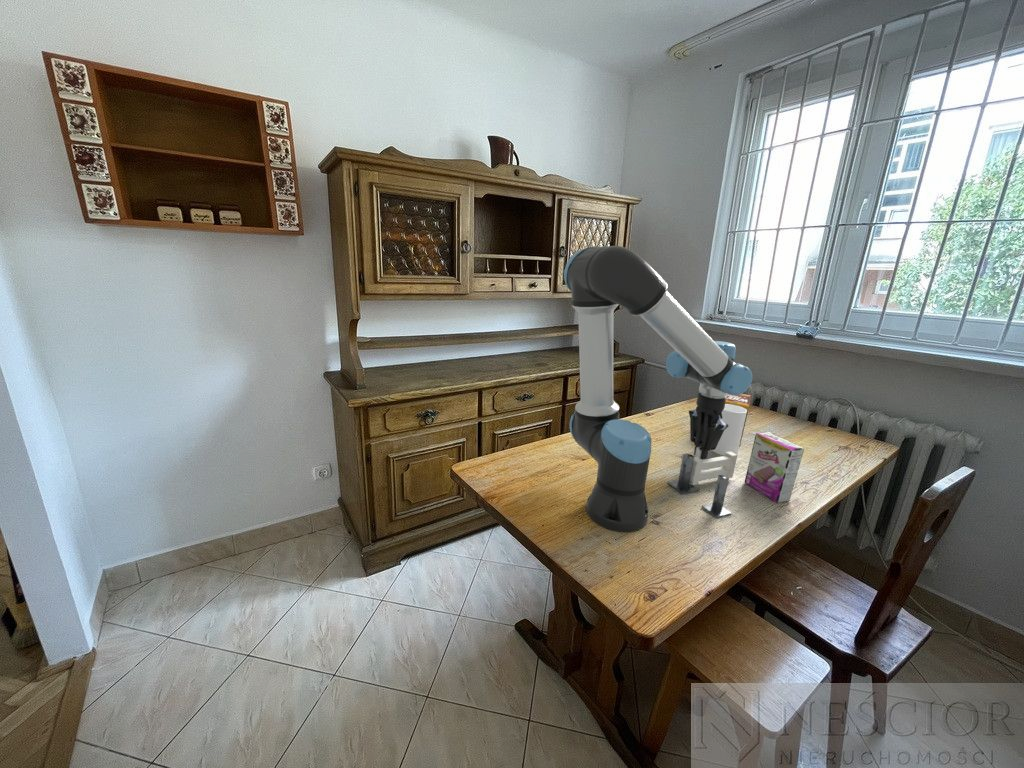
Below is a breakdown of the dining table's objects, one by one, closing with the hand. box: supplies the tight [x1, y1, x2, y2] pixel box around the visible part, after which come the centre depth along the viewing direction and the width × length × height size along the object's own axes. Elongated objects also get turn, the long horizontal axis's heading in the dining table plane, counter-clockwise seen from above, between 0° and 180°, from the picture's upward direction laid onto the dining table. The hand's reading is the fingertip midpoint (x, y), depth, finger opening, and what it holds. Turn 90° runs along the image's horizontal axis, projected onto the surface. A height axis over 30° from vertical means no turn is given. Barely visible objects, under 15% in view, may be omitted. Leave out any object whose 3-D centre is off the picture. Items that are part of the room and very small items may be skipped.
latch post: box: [701, 475, 733, 519], centre depth 103 cm, size 5×5×10 cm
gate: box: [690, 451, 738, 486], centre depth 117 cm, size 16×2×8 cm, turn 110°
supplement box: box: [714, 393, 752, 447], centre depth 150 cm, size 10×15×16 cm
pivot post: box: [667, 453, 700, 496], centre depth 114 cm, size 6×6×10 cm
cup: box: [711, 404, 747, 456], centre depth 137 cm, size 8×8×16 cm
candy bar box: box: [744, 431, 805, 504], centre depth 112 cm, size 11×5×16 cm, turn 18°
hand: (698, 466), depth 124 cm, fingers closed
